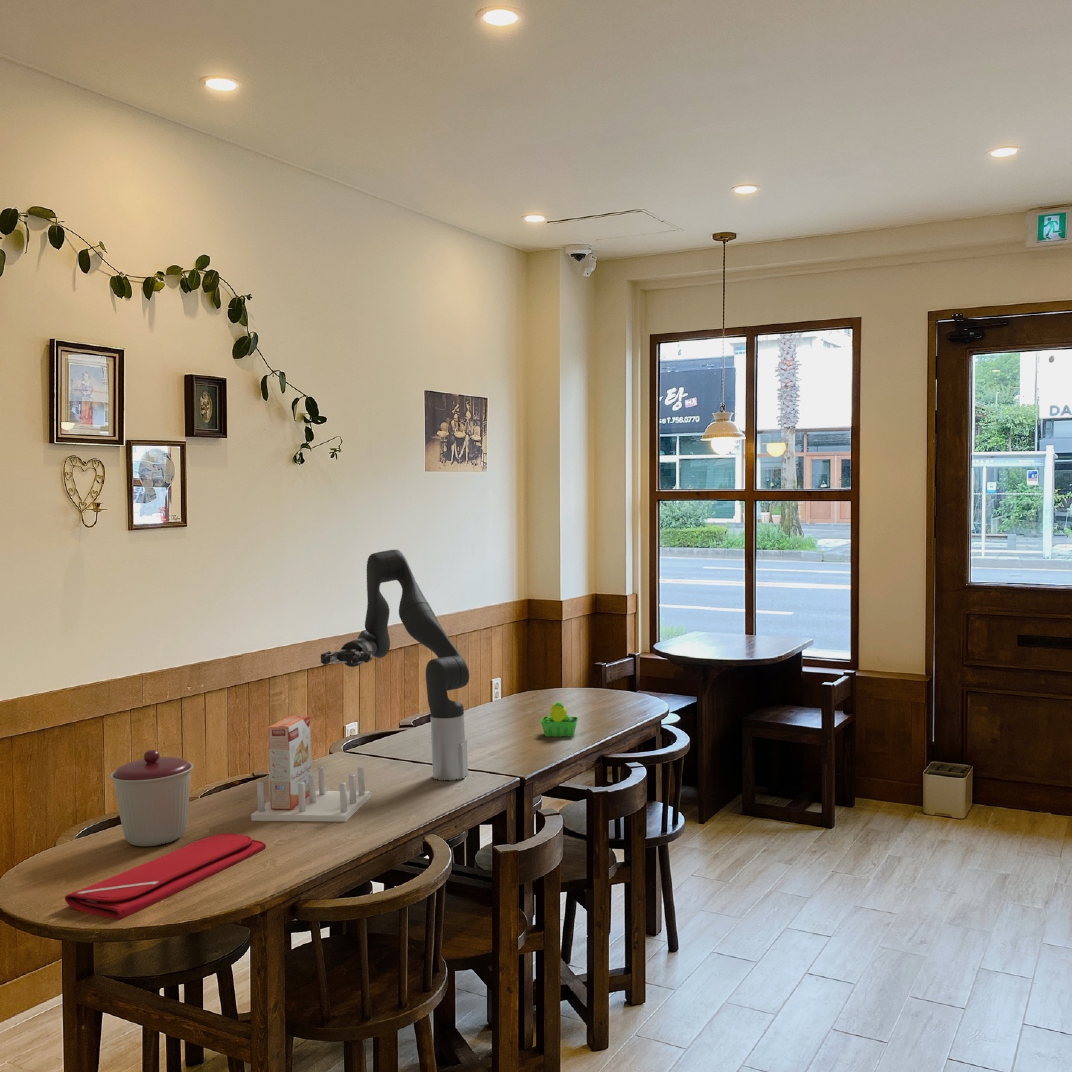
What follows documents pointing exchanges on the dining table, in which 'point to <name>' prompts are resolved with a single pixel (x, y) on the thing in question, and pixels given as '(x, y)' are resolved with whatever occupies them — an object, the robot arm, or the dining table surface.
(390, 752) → the dining table surface
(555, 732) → the fruit basket
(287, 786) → the cracker box
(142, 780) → the canister
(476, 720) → the dining table surface
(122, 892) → the dish drying mat
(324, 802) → the dish rack
